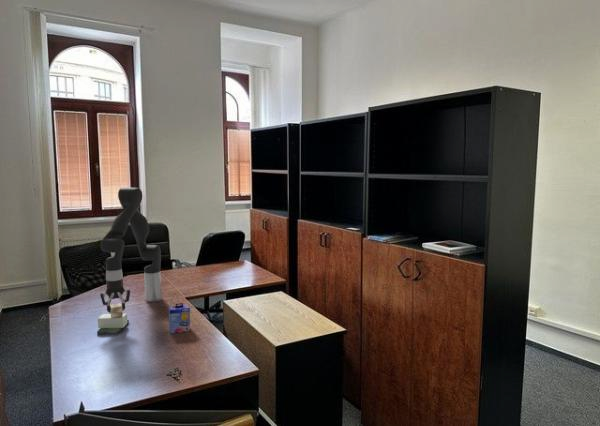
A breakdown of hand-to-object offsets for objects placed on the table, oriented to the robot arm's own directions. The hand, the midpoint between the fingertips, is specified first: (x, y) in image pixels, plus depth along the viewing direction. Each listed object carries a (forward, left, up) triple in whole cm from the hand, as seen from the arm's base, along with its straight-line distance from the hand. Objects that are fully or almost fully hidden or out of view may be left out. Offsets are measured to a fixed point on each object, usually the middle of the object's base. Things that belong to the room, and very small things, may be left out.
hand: (116, 311), depth 210 cm
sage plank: (+2, -2, -8) cm, 8 cm away
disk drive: (+2, -1, -10) cm, 11 cm away
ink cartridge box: (-27, +16, -10) cm, 33 cm away
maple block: (0, 0, -2) cm, 2 cm away
